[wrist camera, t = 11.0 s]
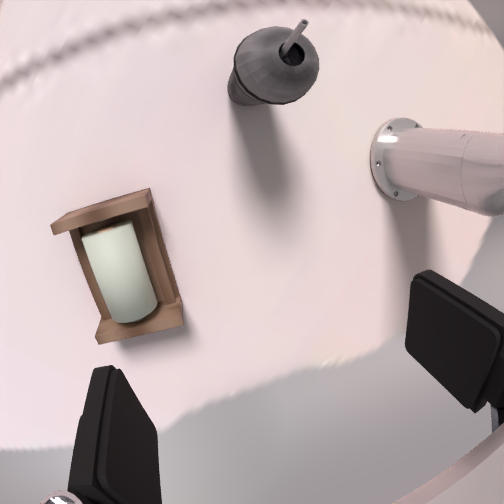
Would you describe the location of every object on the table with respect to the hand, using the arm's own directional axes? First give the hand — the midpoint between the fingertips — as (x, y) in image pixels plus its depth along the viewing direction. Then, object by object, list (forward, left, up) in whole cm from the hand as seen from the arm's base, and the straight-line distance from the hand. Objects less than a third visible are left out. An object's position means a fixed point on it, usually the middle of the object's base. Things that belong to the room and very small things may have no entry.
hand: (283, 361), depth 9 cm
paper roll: (+11, +5, -26) cm, 29 cm away
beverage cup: (-8, -12, -31) cm, 34 cm away
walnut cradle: (+11, +5, -30) cm, 33 cm away
